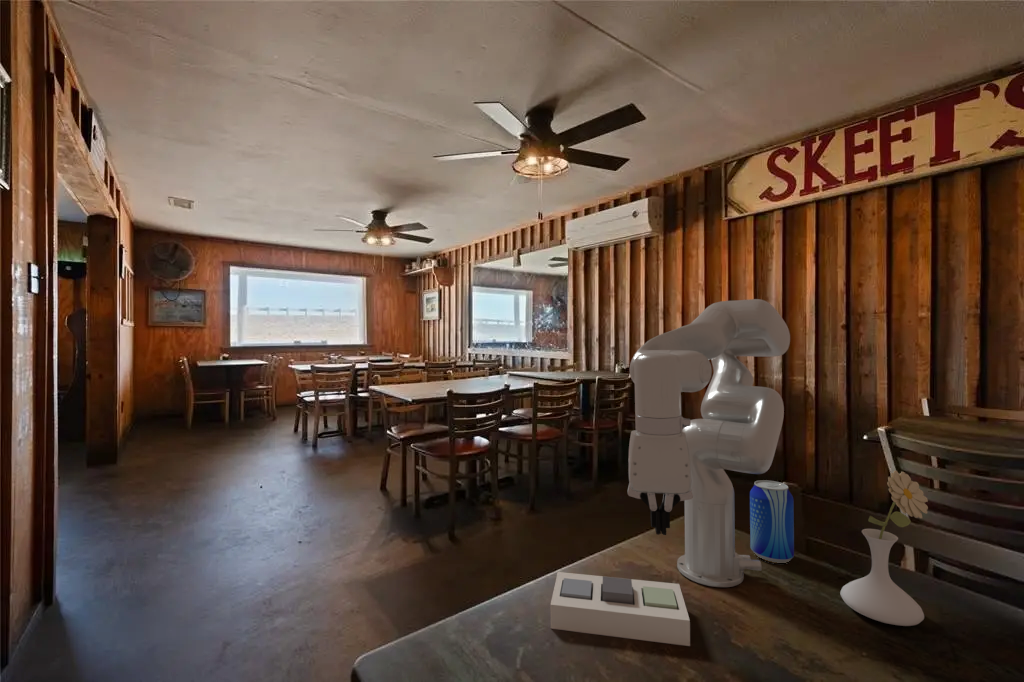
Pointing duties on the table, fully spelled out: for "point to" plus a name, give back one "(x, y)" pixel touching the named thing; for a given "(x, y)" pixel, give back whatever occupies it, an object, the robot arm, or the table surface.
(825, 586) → the table surface
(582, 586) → the slate key
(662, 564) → the table surface
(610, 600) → the charcoal key
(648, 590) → the sage key
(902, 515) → the flower in vase
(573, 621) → the keypad
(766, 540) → the beer can
